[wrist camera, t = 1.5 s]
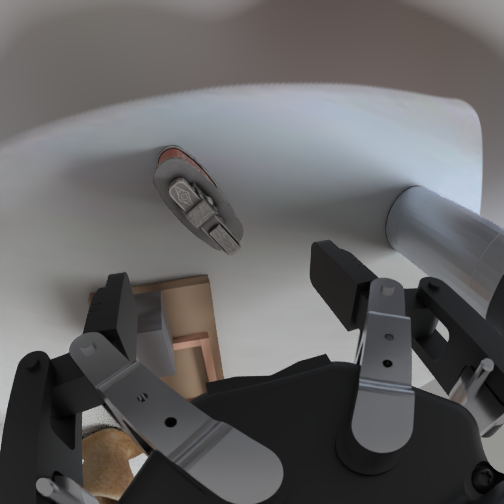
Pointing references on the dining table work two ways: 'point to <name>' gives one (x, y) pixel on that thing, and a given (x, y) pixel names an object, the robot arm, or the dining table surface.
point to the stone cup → (108, 464)
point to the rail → (178, 334)
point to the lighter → (197, 199)
